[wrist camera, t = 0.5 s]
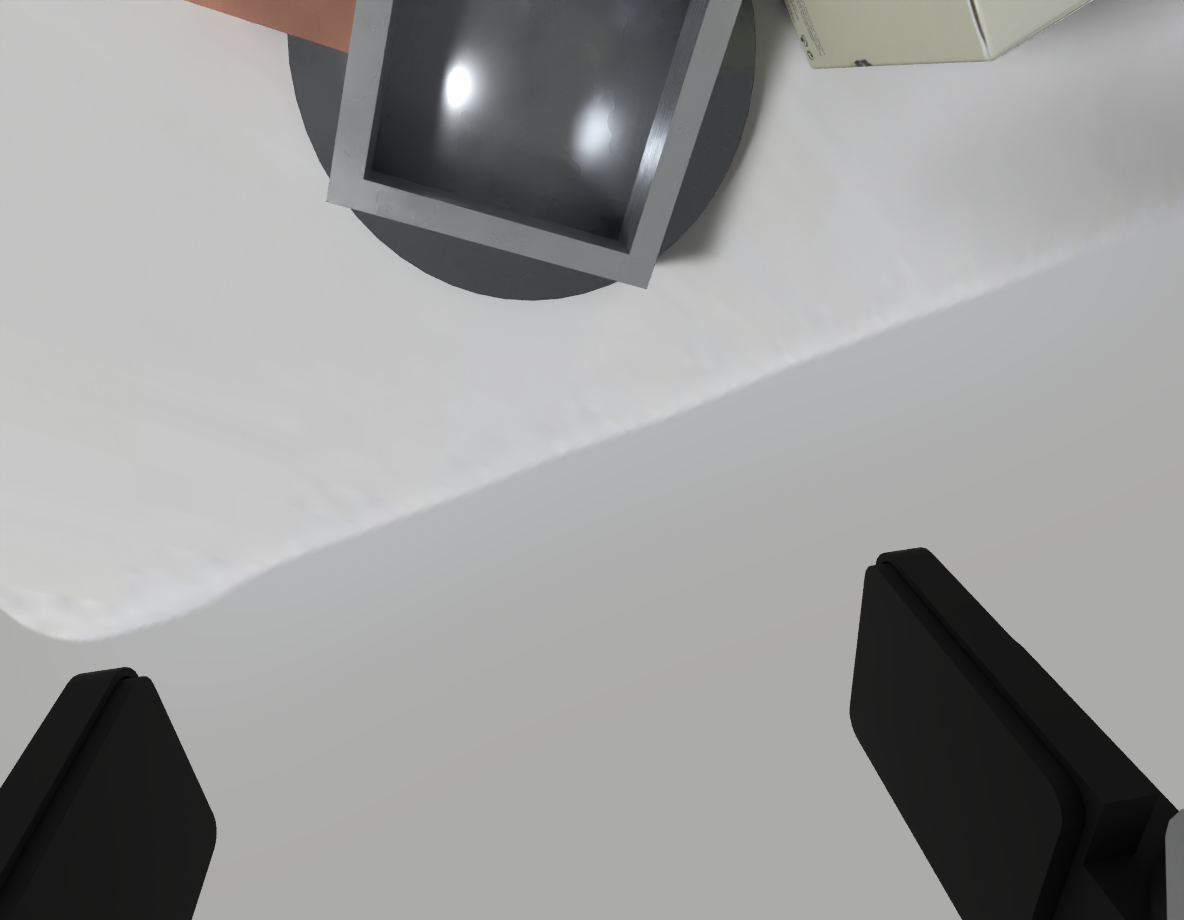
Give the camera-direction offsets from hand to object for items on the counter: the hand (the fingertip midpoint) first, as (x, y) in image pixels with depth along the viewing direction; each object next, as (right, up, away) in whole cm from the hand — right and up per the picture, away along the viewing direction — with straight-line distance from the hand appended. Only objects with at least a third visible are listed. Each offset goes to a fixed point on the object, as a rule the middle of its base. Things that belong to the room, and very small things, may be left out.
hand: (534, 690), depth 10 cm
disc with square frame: (-3, +20, +22) cm, 30 cm away
